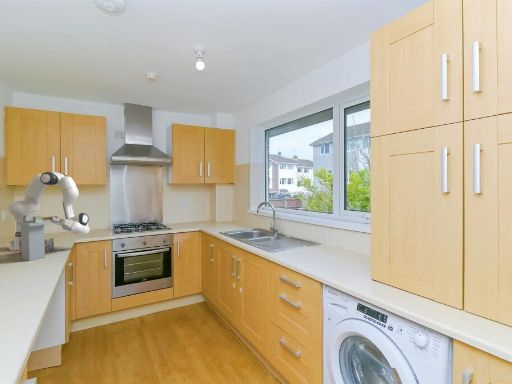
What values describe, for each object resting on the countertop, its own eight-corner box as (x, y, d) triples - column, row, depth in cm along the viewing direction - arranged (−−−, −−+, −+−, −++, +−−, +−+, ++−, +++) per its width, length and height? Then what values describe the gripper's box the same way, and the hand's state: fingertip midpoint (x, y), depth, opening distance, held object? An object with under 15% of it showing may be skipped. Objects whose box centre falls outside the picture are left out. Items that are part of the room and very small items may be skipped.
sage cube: (32, 222, 194) (32, 216, 194) (39, 221, 197) (39, 216, 197) (35, 222, 192) (35, 216, 192) (42, 222, 195) (42, 216, 195)
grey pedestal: (17, 258, 198) (16, 221, 197) (37, 254, 208) (36, 219, 207) (29, 262, 189) (29, 223, 188) (50, 257, 199) (49, 221, 199)
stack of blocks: (48, 248, 228) (48, 233, 228) (54, 249, 226) (53, 234, 226) (19, 255, 208) (18, 238, 207) (25, 255, 206) (24, 239, 205)
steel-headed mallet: (23, 222, 195) (22, 215, 194) (55, 219, 212) (54, 212, 212) (26, 222, 192) (26, 215, 192) (58, 219, 210) (58, 212, 210)
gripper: (63, 220, 225) (46, 213, 214) (77, 222, 215) (60, 214, 204) (59, 227, 222) (41, 220, 211) (73, 229, 212) (55, 222, 201)
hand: (51, 217), depth 208 cm, fingers closed on steel-headed mallet, 2 cm apart
